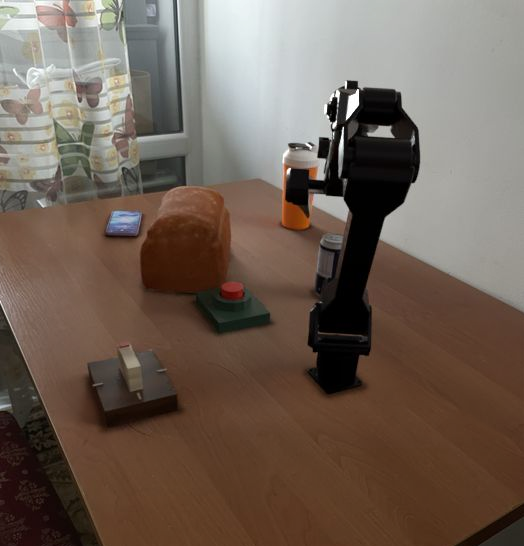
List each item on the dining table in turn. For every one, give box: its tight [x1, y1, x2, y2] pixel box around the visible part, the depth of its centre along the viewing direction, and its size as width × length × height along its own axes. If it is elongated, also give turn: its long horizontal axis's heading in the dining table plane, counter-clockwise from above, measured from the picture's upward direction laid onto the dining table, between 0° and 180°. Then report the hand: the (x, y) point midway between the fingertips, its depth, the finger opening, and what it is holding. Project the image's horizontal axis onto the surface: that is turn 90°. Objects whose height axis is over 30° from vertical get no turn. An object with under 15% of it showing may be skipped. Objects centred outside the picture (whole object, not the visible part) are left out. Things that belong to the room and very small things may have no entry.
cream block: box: [116, 341, 143, 392], centre depth 78 cm, size 6×2×4 cm, turn 26°
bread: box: [139, 185, 232, 294], centre depth 113 cm, size 17×24×15 cm
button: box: [221, 281, 243, 300], centre depth 99 cm, size 4×4×2 cm
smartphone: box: [105, 209, 143, 237], centre depth 135 cm, size 7×1×15 cm
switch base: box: [86, 349, 179, 429], centre depth 80 cm, size 12×11×3 cm
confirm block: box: [194, 283, 271, 334], centre depth 101 cm, size 12×10×4 cm
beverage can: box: [314, 232, 344, 297], centre depth 106 cm, size 6×6×12 cm
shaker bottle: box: [281, 141, 321, 230], centre depth 135 cm, size 9×9×20 cm
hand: (332, 217), depth 104 cm, fingers open, 9 cm apart
